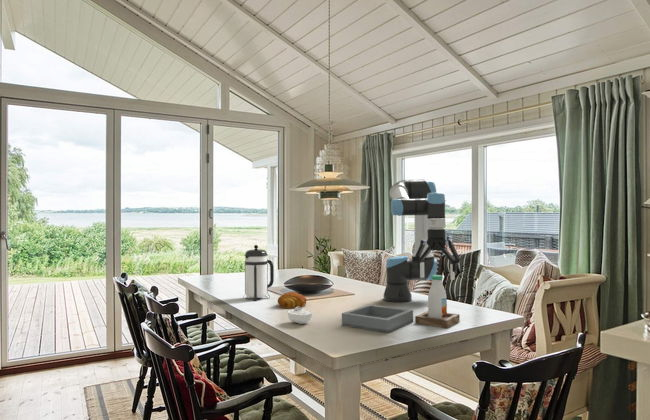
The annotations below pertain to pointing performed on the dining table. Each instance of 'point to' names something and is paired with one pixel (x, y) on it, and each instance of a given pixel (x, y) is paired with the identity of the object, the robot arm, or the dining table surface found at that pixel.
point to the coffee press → (257, 273)
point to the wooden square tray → (437, 320)
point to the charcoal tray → (377, 318)
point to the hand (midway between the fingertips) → (437, 278)
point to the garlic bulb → (299, 315)
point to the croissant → (291, 300)
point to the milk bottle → (437, 299)
